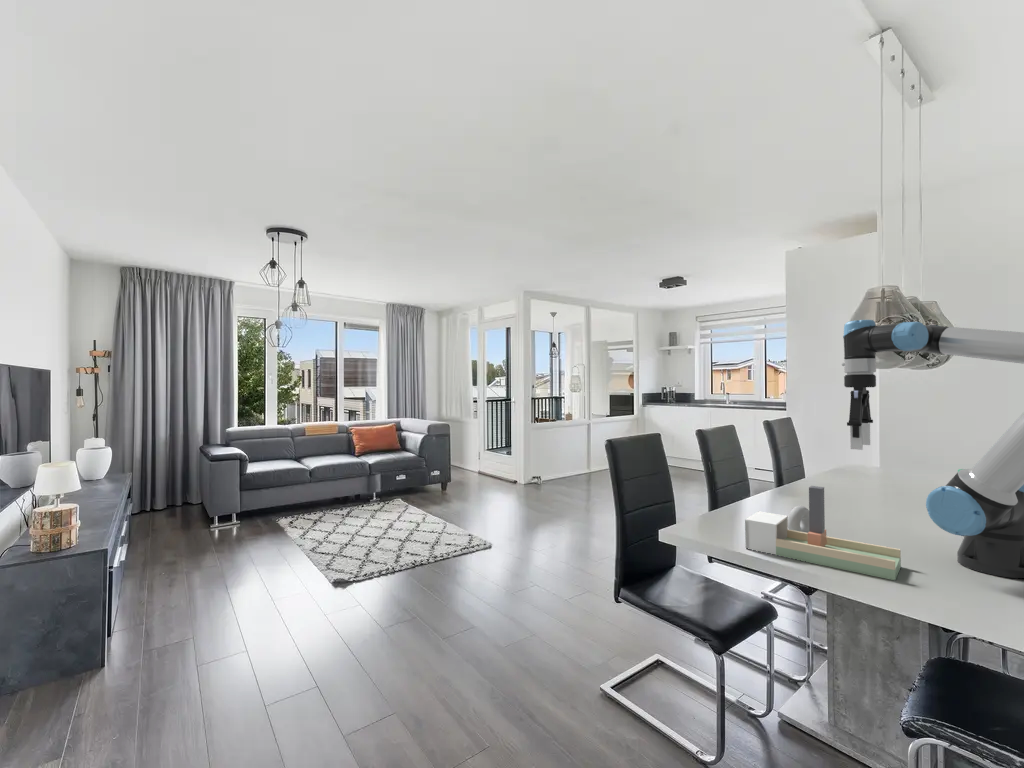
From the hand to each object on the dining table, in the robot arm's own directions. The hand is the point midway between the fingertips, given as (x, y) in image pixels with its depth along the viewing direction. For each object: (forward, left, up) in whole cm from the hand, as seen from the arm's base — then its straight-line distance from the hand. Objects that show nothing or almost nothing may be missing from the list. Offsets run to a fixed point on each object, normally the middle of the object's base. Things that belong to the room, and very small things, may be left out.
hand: (860, 447), depth 142 cm
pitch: (+7, +19, -29) cm, 35 cm away
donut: (+15, +4, -29) cm, 33 cm away
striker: (+7, +19, -26) cm, 33 cm away
